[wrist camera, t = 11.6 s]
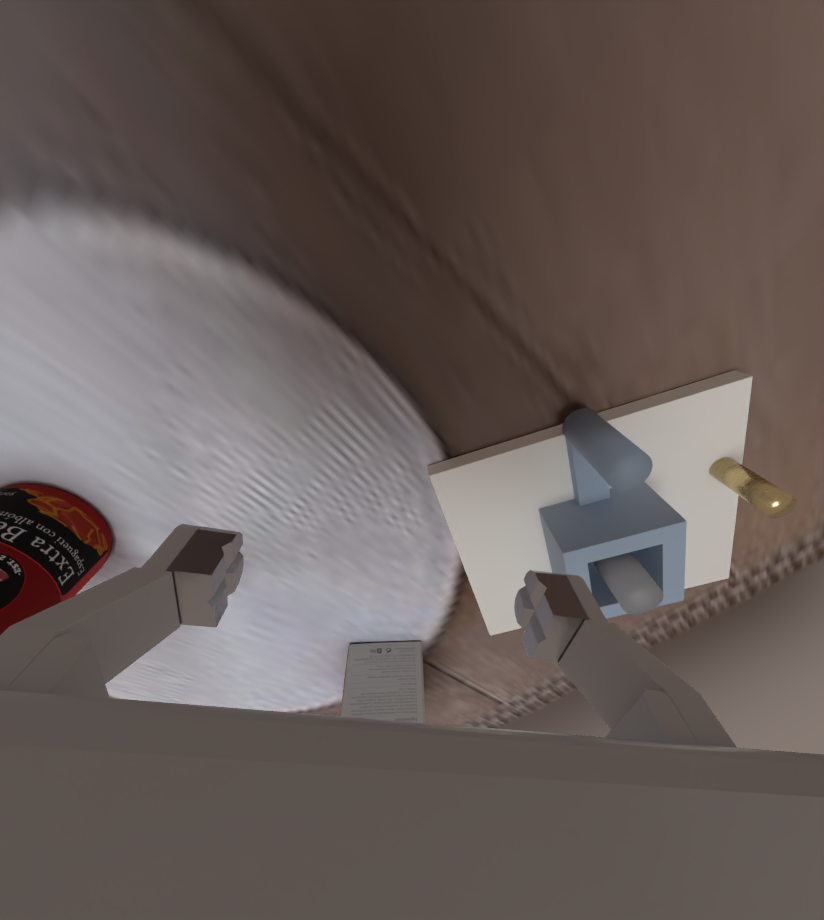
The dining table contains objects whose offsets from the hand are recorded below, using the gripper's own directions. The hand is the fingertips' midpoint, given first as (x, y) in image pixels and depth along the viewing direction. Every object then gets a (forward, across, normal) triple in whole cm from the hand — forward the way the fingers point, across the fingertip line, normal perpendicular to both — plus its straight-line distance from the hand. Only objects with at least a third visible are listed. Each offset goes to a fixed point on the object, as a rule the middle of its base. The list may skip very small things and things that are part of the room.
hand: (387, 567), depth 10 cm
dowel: (+11, -20, 0) cm, 23 cm away
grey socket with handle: (+11, -13, +3) cm, 17 cm away
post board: (+12, -14, +6) cm, 20 cm away
